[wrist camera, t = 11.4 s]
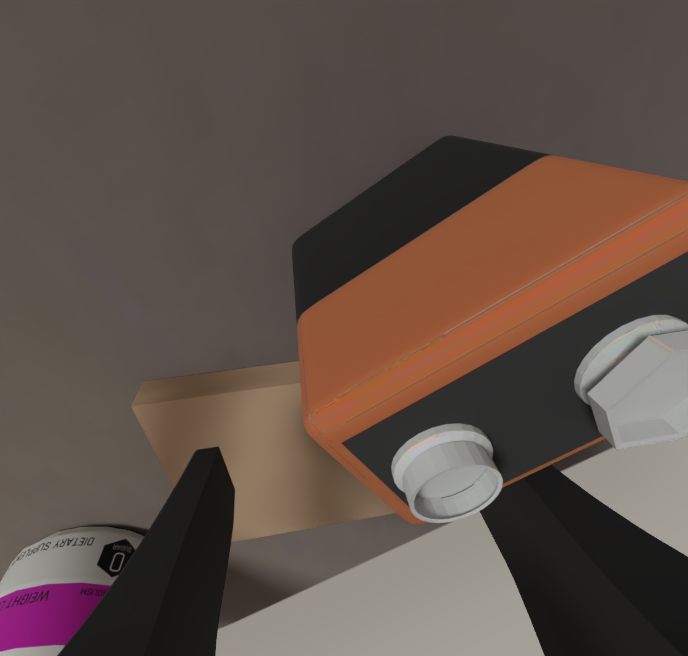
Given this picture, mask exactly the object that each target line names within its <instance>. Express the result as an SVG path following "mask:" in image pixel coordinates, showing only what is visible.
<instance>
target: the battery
mask: <svg viewBox="0 0 688 656" xmlns="http://www.w3.org/2000/svg"><path fill="white" fill-rule="evenodd" d="M292 258H293V273H294V289H295V304H296V319H297V334H298V350H299V365H300V380H301V395H302V411H303V422H304V427H305V430H306V432H307V433H308V434H309V436H310V437H311V438H312V439H313V440H315V441H316V442H317V443H318V444H319V445H320V446H321V447H322V448H323V449H324V450H326V451H327V452H328V453H329V454H330V455H331V456H332V457H334V458H335V459H336V460H337V461H338V462H339V463H340V464H342V465H343V466H344V467H345V468H346V469H347V470H348V471H349V472H351V473H352V474H353V475H354V476H355V477H356V478H357V479H359V480H360V481H361V482H362V483H363V484H364V485H365V486H366V487H368V488H369V489H370V490H371V491H372V492H373V493H374V494H376V495H377V496H378V497H379V498H380V499H381V500H382V501H383V502H385V503H386V504H387V505H388V506H389V507H390V508H391V509H393V510H394V511H395V512H396V513H397V514H398V515H399V516H401V517H402V518H403V519H404V520H406V521H407V522H409V523H412V524H425V523H428V522H432V523H443V522H451V521H455V520H459V519H463V518H465V517H468V516H470V515H473V514H475V513H477V512H478V511H480V510H482V509H484V508H485V507H486V506H487V505H489V504H490V503H491V502H492V501H493V500H494V499H495V498H496V497H497V496H498V494H499V492H500V491H501V489H502V488H503V487H505V486H507V485H509V484H511V483H514V482H516V481H518V480H520V479H522V478H524V477H526V476H528V475H530V474H532V473H534V472H537V471H539V470H541V469H543V468H545V467H547V466H549V465H551V464H553V463H555V462H558V461H560V460H562V459H564V458H566V457H568V456H570V455H572V454H574V453H576V452H579V451H581V450H583V449H585V448H587V447H589V446H591V445H593V444H595V443H597V442H599V441H602V440H604V439H607V440H608V441H609V443H610V444H611V445H612V446H613V447H614V448H615V449H616V450H618V449H623V448H629V447H634V446H641V445H646V444H651V443H658V442H664V441H669V440H675V439H681V438H683V437H684V436H685V435H687V434H688V181H683V180H678V179H673V178H668V177H663V176H658V175H653V174H647V173H642V172H637V171H632V170H627V169H622V168H616V167H611V166H606V165H601V164H596V163H591V162H585V161H580V160H575V159H570V158H565V157H560V156H555V155H549V154H544V153H539V152H534V151H529V150H524V149H518V148H513V147H508V146H503V145H498V144H493V143H487V142H482V141H477V140H472V139H467V138H462V137H456V136H445V137H443V138H441V139H439V140H438V141H436V142H435V143H433V144H432V145H430V146H429V147H427V148H426V149H425V150H423V151H422V152H420V153H419V154H417V155H416V156H415V157H413V158H412V159H410V160H409V161H407V162H406V163H405V164H403V165H402V166H400V167H399V168H397V169H396V170H394V171H393V172H392V173H390V174H389V175H387V176H386V177H384V178H383V179H382V180H380V181H379V182H377V183H376V184H374V185H373V186H372V187H370V188H369V189H367V190H366V191H364V192H363V193H362V194H360V195H359V196H357V197H356V198H354V199H353V200H352V201H350V202H349V203H347V204H346V205H344V206H343V207H342V208H340V209H339V210H337V211H336V212H334V213H333V214H332V215H330V216H329V217H327V218H326V219H324V220H323V221H322V222H320V223H319V224H317V225H316V226H314V227H313V228H312V229H310V230H309V231H307V232H306V233H305V234H303V235H302V236H301V237H299V238H298V239H297V240H296V241H295V243H294V244H293V248H292Z"/></svg>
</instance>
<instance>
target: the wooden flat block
mask: <svg viewBox="0 0 688 656" xmlns="http://www.w3.org/2000/svg"><path fill="white" fill-rule="evenodd" d="M131 407H132V409H133V411H134V413H135V415H136V417H137V419H138V421H139V423H140V424H141V426H142V428H143V430H144V432H145V434H146V436H147V438H148V440H149V442H150V443H151V445H152V447H153V449H154V451H155V453H156V455H157V457H158V459H159V461H160V463H161V464H162V466H163V468H164V470H165V472H166V474H167V476H168V478H169V480H170V482H171V483H172V485H173V487H174V488H175V486H176V484H177V482H178V481H179V479H180V477H181V475H182V474H183V472H184V470H185V468H186V466H187V465H188V463H189V461H190V459H191V457H192V456H193V454H194V452H195V451H196V450H198V449H204V448H211V447H217V446H219V448H220V451H221V453H222V456H223V459H224V461H225V464H226V467H227V469H228V472H229V475H230V477H231V480H232V482H233V485H234V488H235V505H234V524H233V532H232V539H231V542H235V541H241V540H247V539H252V538H258V537H264V536H269V535H275V534H281V533H286V532H292V531H297V530H303V529H309V528H314V527H320V526H326V525H331V524H337V523H343V522H348V521H354V520H360V519H365V518H371V517H377V516H382V515H388V514H394V513H396V512H395V511H394V510H393V509H391V508H390V507H389V506H388V505H387V504H386V503H385V502H383V501H382V500H381V499H380V498H379V497H378V496H377V495H376V494H374V493H373V492H372V491H371V490H370V489H369V488H368V487H366V486H365V485H364V484H363V483H362V482H361V481H360V480H359V479H357V478H356V477H355V476H354V475H353V474H352V473H351V472H349V471H348V470H347V469H346V468H345V467H344V466H343V465H342V464H340V463H339V462H338V461H337V460H336V459H335V458H334V457H332V456H331V455H330V454H329V453H328V452H327V451H326V450H324V449H323V448H322V447H321V446H320V445H319V444H318V443H317V442H316V441H315V440H313V439H312V438H311V437H310V436H309V434H308V433H307V432H306V430H305V427H304V422H303V411H302V395H301V380H300V365H299V361H294V362H287V363H279V364H272V365H264V366H257V367H249V368H242V369H234V370H227V371H219V372H212V373H204V374H196V375H189V376H181V377H174V378H166V379H159V380H151V381H144V382H143V383H142V385H141V387H140V389H139V391H138V393H137V395H136V397H135V399H134V401H133V403H132V405H131Z"/></svg>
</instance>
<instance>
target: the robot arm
mask: <svg viewBox="0 0 688 656" xmlns="http://www.w3.org/2000/svg"><path fill="white" fill-rule="evenodd" d="M234 505H235V488H234V485H233V482H232V480H231V477H230V475H229V472H228V469H227V467H226V464H225V461H224V459H223V456H222V453H221V451H220V448H219V446H217V447H211V448H204V449H198V450H196V451H195V452H194V454H193V456H192V457H191V459H190V461H189V463H188V465H187V466H186V468H185V470H184V472H183V474H182V475H181V477H180V479H179V481H178V482H177V484H176V486H175V488H174V489H173V491H172V493H171V494H170V496H169V498H168V500H167V501H166V503H165V505H164V506H163V508H162V509H161V511H160V513H159V514H158V516H157V518H156V519H155V521H154V522H153V524H152V526H151V527H150V529H149V530H148V532H147V534H146V535H145V537H144V538H143V540H142V541H141V543H140V544H139V546H138V547H137V549H136V550H135V552H134V553H133V555H132V556H131V558H130V559H129V561H128V562H127V564H126V565H125V567H124V568H123V569H122V571H121V572H120V574H119V575H118V577H117V578H116V579H115V581H114V582H113V584H112V585H111V586H110V588H109V589H108V591H107V592H106V593H105V595H104V596H103V597H102V599H101V600H100V602H99V603H98V604H97V606H96V607H95V608H94V609H93V611H92V612H91V613H90V615H89V616H88V617H87V619H86V620H85V621H84V623H83V624H82V625H81V627H80V628H79V629H78V630H77V632H76V633H75V634H74V635H73V637H72V638H71V639H70V640H69V642H68V643H67V644H66V645H65V647H64V648H63V649H62V650H61V652H60V653H59V654H58V655H57V656H215V651H216V639H217V631H218V623H219V615H220V609H221V603H222V596H223V590H224V584H225V578H226V571H227V565H228V559H229V552H230V546H231V539H232V532H233V524H234ZM480 513H481V514H482V517H483V519H484V520H485V522H486V524H487V526H488V528H489V530H490V532H491V534H492V536H493V538H494V540H495V542H496V544H497V546H498V548H499V550H500V552H501V554H502V555H503V557H504V559H505V561H506V563H507V566H508V567H509V570H510V572H511V574H512V576H513V578H514V580H515V583H516V585H517V588H518V590H519V593H520V595H521V597H522V600H523V602H524V605H525V607H526V609H527V612H528V614H529V617H530V619H531V622H532V624H533V627H534V629H535V632H536V635H537V637H538V640H539V642H540V645H541V647H542V650H543V653H544V655H545V656H688V557H687V556H685V555H684V554H682V553H680V552H679V551H677V550H675V549H674V548H672V547H670V546H669V545H667V544H665V543H663V542H662V541H660V540H659V539H657V538H655V537H654V536H652V535H650V534H649V533H647V532H645V531H644V530H642V529H641V528H639V527H638V526H636V525H634V524H633V523H631V522H630V521H629V520H627V519H625V518H624V517H622V516H621V515H619V514H618V513H617V512H615V511H613V510H612V509H611V508H609V507H608V506H606V505H605V504H603V503H602V502H600V501H599V500H597V499H596V498H595V497H593V496H592V495H590V494H589V493H588V492H586V491H585V490H584V489H582V488H581V487H580V486H578V485H577V484H575V483H574V482H573V481H571V480H570V479H569V478H568V477H566V476H565V475H564V474H562V473H561V472H560V471H559V470H557V469H556V468H555V467H553V466H552V465H549V466H547V467H545V468H543V469H541V470H539V471H537V472H534V473H532V474H530V475H528V476H526V477H524V478H522V479H520V480H518V481H516V482H514V483H511V484H509V485H507V486H505V487H503V488H502V489H501V491H500V492H499V494H498V496H497V497H496V498H495V499H494V500H493V501H492V502H491V503H490V504H489V505H487V506H486V507H485V508H484V509H482V510H480Z"/></svg>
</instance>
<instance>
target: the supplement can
mask: <svg viewBox="0 0 688 656" xmlns="http://www.w3.org/2000/svg"><path fill="white" fill-rule="evenodd" d="M144 537H145V536H143V535H140V534H138V533H135V532H132V531H130V530H124V529H118V528H112V527H78V528H73V529H68V530H63V531H59V532H57V533H54V534H52V535H50V536H48V537H46V538H44V539H42V540H41V541H40V542H37V543H35V544H33V545H31V546H29V547H27V548H25V549H23V550H22V551H21V552H20V554H19V555H18V556H17V557H16V558H15V559H14V560H13V562H12V563H11V565H10V567H9V568H8V570H7V572H6V574H5V575H4V577H3V579H2V580H1V582H0V656H57V655H58V654H59V653H60V652H61V650H62V649H63V648H64V647H65V645H66V644H67V643H68V642H69V640H70V639H71V638H72V637H73V635H74V634H75V633H76V632H77V630H78V629H79V628H80V627H81V625H82V624H83V623H84V621H85V620H86V619H87V617H88V616H89V615H90V613H91V612H92V611H93V609H94V608H95V607H96V606H97V604H98V603H99V602H100V600H101V599H102V597H103V596H104V595H105V593H106V592H107V591H108V589H109V588H110V586H111V585H112V584H113V582H114V581H115V579H116V578H117V577H118V575H119V574H120V572H121V571H122V569H123V568H124V567H125V565H126V564H127V562H128V561H129V559H130V558H131V556H132V555H133V553H134V552H135V550H136V549H137V547H138V546H139V544H140V543H141V541H142V540H143V538H144Z"/></svg>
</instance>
